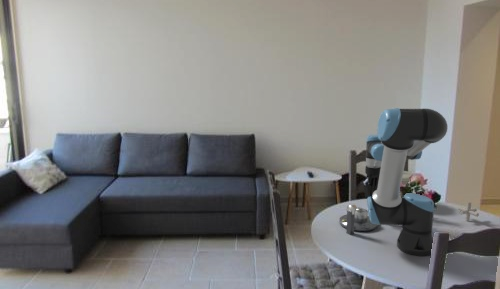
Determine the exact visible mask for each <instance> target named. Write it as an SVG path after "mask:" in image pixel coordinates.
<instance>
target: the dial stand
mask: <svg viewBox="0 0 500 289" xmlns="http://www.w3.org/2000/svg"><path fill="white" fill-rule="evenodd" d="M353 205H354V204H349V205H347V206H346V208H345V210H346V215H347V228H346V231H345V232H346V234H347V235H350V236H352V235H354V234H355V231H354V219H355V213H356V209H355V207H354V206H353Z"/></svg>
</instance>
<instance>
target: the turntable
mask: <svg viewBox="0 0 500 289" xmlns="http://www.w3.org/2000/svg"><path fill="white" fill-rule="evenodd" d="M352 205H353V206H354V207H355V208H358V207H357V205H355V204H352ZM339 225H340V226H341V227H343V228H344V229H347V214H344V215H341V216H340V217H339ZM377 227H378V225H377V224H372V223H371V222H370V220H369V215H368V218H367V222H366V223H355V222H354V230H355V231H354V232H369V231H373V230H375V229H377Z"/></svg>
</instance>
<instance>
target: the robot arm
mask: <svg viewBox="0 0 500 289" xmlns="http://www.w3.org/2000/svg"><path fill="white" fill-rule="evenodd" d="M376 131H377V134H369V135H366V136H367V137H366V141H365V143H366V145H365V146H366V150H365V152H366V153H365V170H364V173H365V174H366V176H365V180H363V181H362V182H361V183H362V185H363V192H364V198H365V199H366V203H367V204H366V205H367V206H366V207H367V211H368V216H369V220H370V222H371V223H372V224H377V226H402V228H401V231H400V233H399V235H398V236H397V239H396V247H397V248H398V249H399V250H400V251H401V252H403V253H406V254H408V255H412V256H416V257H427V256H428V257H429V256H431V249H432V243H433V239H434V235H433V222H434V214H435V202H434V201H433V199H431V198H430V197H428V196H426V195H423V194H422V195H420V194H415V193H406V194H405V195H404V198H401V196H400V194H399V191H400V186H401V181H402V176H403V171H405V166H406V161H407V160H410V161H413V160H420V159H421V158H422V156H423V150H424V149H426V148H427V147H428V146H430V145H431V144H436V143H438V142H440V141H441V140H442V139H443V138H444V137H445V136H446V135H447V132H448V122H447V120H446V118H445V116H443V115H442V114H441V113H440V112H439V111H436V110H434V109H430V108H397V107H396V108H395V107H394V108H387V109H385V110H383V111H382V112H381V114H380V116H379V118H378V122H377V130H376Z"/></svg>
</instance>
